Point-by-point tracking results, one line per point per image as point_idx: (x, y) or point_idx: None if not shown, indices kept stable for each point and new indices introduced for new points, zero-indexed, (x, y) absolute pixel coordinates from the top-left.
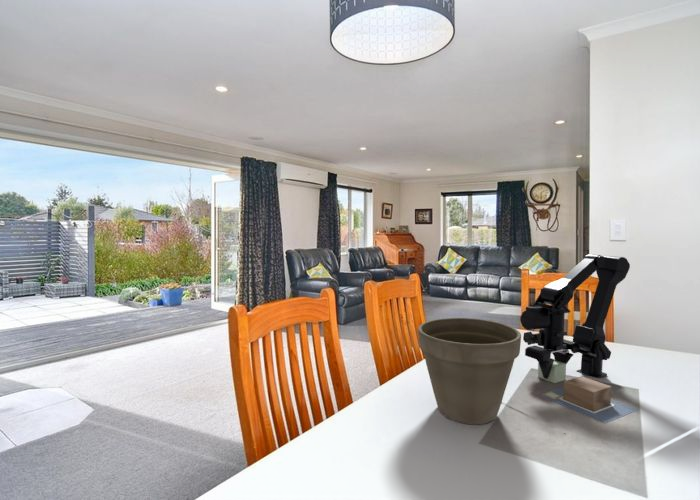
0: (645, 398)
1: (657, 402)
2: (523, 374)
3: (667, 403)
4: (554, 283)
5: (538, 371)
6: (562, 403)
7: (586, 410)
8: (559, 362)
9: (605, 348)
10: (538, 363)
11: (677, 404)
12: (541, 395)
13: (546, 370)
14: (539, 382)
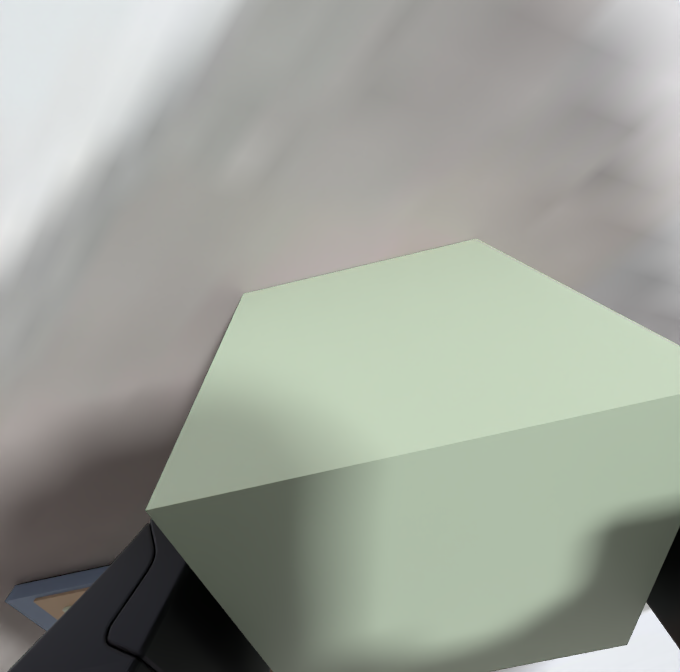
0: (635, 626)
1: (627, 648)
2: (97, 73)
3: (650, 653)
4: None
5: (224, 349)
6: None
7: None
8: (608, 599)
9: None
10: (169, 460)
11: (671, 658)
12: (27, 607)
13: None
14: (189, 389)
